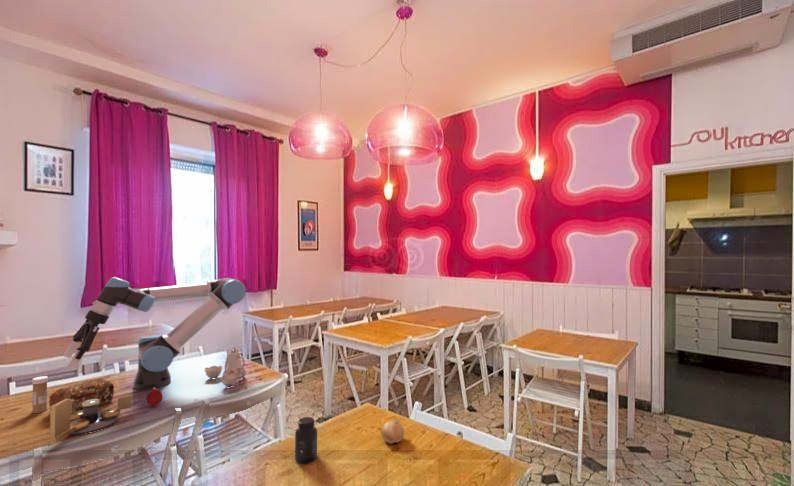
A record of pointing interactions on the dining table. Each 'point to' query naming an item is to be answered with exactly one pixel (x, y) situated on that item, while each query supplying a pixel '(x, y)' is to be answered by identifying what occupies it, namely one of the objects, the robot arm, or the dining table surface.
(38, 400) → the sprinkles bottle
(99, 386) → the bread
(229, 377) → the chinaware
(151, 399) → the onion
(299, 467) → the dining table surface
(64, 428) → the tan upright wooden panel
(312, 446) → the supplement bottle
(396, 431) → the onion
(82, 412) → the tribrach plate
